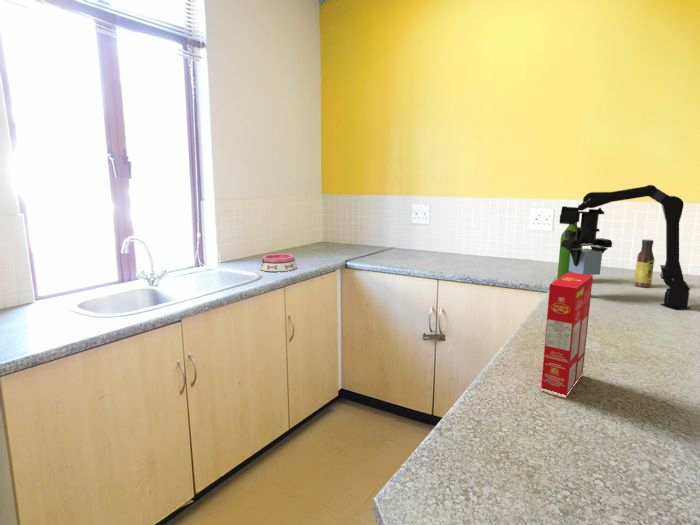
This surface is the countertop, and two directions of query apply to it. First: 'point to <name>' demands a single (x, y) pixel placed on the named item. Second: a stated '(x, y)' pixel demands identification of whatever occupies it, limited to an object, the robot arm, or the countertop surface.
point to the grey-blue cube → (587, 262)
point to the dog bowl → (278, 263)
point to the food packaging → (566, 331)
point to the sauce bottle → (644, 265)
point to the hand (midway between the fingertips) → (584, 265)
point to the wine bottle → (565, 254)
